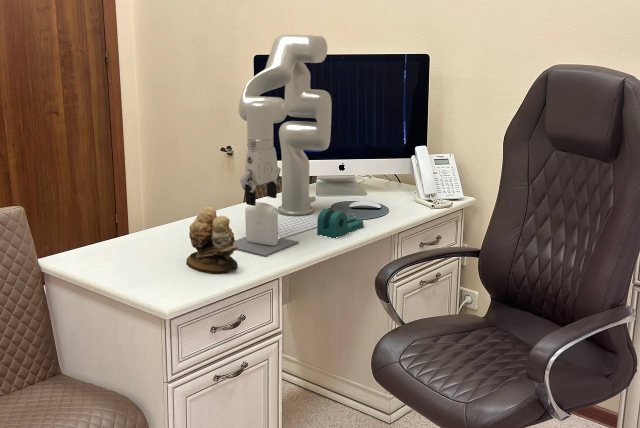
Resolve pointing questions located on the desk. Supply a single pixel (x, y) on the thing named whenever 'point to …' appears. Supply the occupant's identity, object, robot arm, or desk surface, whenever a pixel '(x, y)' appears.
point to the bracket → (336, 223)
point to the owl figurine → (212, 243)
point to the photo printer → (261, 224)
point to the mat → (263, 246)
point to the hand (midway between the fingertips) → (261, 201)
